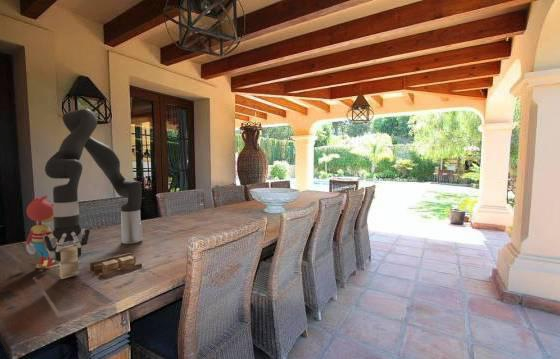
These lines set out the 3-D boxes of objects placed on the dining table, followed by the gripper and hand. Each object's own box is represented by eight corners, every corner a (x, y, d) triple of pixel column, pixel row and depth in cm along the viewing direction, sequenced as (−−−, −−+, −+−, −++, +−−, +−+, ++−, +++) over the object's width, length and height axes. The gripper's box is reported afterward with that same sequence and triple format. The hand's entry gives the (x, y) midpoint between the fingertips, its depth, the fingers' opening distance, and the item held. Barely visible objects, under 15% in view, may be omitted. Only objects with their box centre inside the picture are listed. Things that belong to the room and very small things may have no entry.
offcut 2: (130, 264, 117) (130, 255, 116) (134, 267, 114) (134, 257, 114) (118, 267, 113) (118, 258, 113) (122, 270, 111) (122, 260, 110)
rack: (130, 261, 123) (130, 252, 123) (143, 269, 115) (143, 259, 115) (88, 272, 111) (88, 262, 111) (99, 281, 103) (99, 271, 102)
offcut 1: (114, 269, 112) (114, 259, 112) (118, 271, 109) (118, 261, 109) (102, 272, 109) (101, 262, 108) (105, 275, 106) (105, 265, 106)
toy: (71, 265, 117) (68, 195, 115) (44, 275, 108) (40, 198, 105) (48, 261, 122) (44, 193, 120) (20, 269, 112) (16, 196, 110)
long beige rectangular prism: (76, 272, 106) (75, 244, 105) (78, 274, 104) (77, 246, 104) (59, 276, 103) (58, 247, 102) (61, 279, 101) (60, 249, 100)
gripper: (86, 209, 109) (87, 252, 111) (38, 215, 99) (41, 261, 100) (92, 212, 105) (94, 256, 106) (43, 218, 94) (45, 267, 95)
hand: (68, 258), depth 103 cm, fingers closed on long beige rectangular prism, 5 cm apart
